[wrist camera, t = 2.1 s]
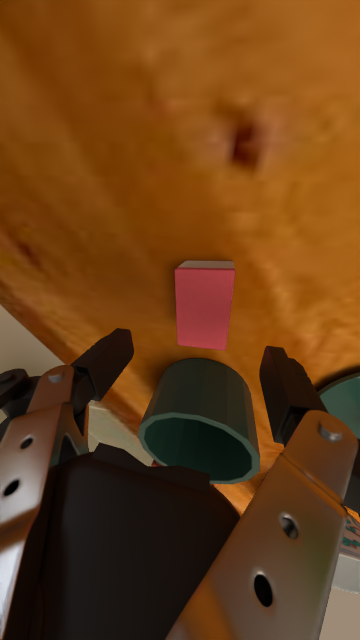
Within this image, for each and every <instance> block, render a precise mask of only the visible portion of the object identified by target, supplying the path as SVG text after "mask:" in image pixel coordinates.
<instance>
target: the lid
mask: <svg viewBox="0 0 360 640" xmlns="http://www.w3.org/2000/svg"><path fill="white" fill-rule="evenodd" d="M317 393H318V395H319V396H320V398H321V400H322V402H323V404H324V405H325V407H326V409H327V411H328V412H329V414H331V415H333V416H335V417H336V418H338V419H339V420H341V421H342V422H343V423H345V424H346V425H347V426H348V427H349V428H350V429H351V431H352V432H353V433H354V435H355V436H356V438H358V439H360V372H358V373H354V374H351V375H348V376H345V377H342V378H340V379H338V380H335V381H334V382H332V383H330V384H328V385H326V386H325V387H324V388H322V389H321V390H320V391H318V392H317Z"/></svg>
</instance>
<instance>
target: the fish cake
mask: <svg viewBox="0 0 360 640" xmlns="http://www.w3.org/2000/svg"><path fill="white" fill-rule="evenodd" d="M234 279H235V267H234V263H233V261H185V262H183V263H182V264H181V265H180V266H178V267H177V268H176V269H175V292H176V317H177V341H178V345H183V346H191V347H199V348H207V349H216V350H224V351H225V350H226V343H227V335H228V327H229V319H230V311H231V303H232V295H233V287H234Z"/></svg>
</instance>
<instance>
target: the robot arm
mask: <svg viewBox="0 0 360 640" xmlns="http://www.w3.org/2000/svg"><path fill="white" fill-rule="evenodd" d="M133 354H134V348H133V342H132V336H131V332H130V330H128V329H120V328H117V329H115V330H114V331H113V332H112V333H111V334H110V335H107V336H105V337H104V338H102V339H100V340H99V341H98V342H96V343H95V345H93V346H92V347H91V348H90V349H88V350H87V351H86V352H85V353H84V354H82V355H81V356H80V357H79V358H78V359H77V360H75V361H74V362H73V363H72V364H71V365H61V366H58V367H55V368H52V369H50V370H49V371H47V372H46V373H44V374H43V375H42V376H33V377H29V376H28V374H27V372H26V371H25V370H24V369H13V370H9V371H6V372H4V373H2V374H0V409H2V411H3V412H4V413H5V415H6V416H7V418H6V419H5V420H4V421H3V422H2V423H1V424H0V640H319V636H320V632H321V628H322V624H323V620H324V616H325V611H326V607H327V603H328V599H329V594H330V591H331V586H332V582H333V578H334V574H335V570H336V566H337V562H338V557H339V553H340V549H341V545H342V541H343V537H344V532H345V528H346V524H347V518H348V512H347V509H346V508H345V507H344V506H343V505H345V506H347V507H348V508H350V509H352V510H353V511H355V512H357V513H358V514H359V517H360V439H358V438H356V436H355V435H354V433H353V432H352V431H351V429H350V428H349V427H348V426H347V425H346V424H345V423H343V422H342V421H341V420H339V419H338V418H336V417H335V416H333V415H331V414H329V412H328V411H327V409H326V407H325V405H324V404H323V402H322V400H321V398H320V396H319V395H318V393H317V391H316V389H315V388H314V386H313V384H311V380H310V379H309V377H307V373H306V372H305V370H304V368H303V366H302V365H300V364H299V363H298V362H297V361H296V360H295V359H292V358H288V356H287V354H286V352H285V350H284V348H282V347H273V346H266V348H265V351H264V355H263V358H262V362H261V366H260V374H259V375H260V382H261V387H262V391H263V395H264V400H265V404H266V409H267V413H268V418H269V422H270V426H271V431H272V435H273V440H274V442H277V443H281V444H284V450H283V451H282V453H280V454H279V456H278V457H277V459H276V461H275V462H274V464H273V465H272V467H271V469H270V470H269V472H268V474H267V475H266V477H265V479H264V480H263V482H262V484H261V485H260V487H259V488H258V490H257V492H256V493H255V495H254V497H253V498H252V500H251V502H250V503H249V505H248V506H247V508H246V510H245V511H244V513H243V515H242V516H241V517H240V515H239V513H238V512H237V510H236V509H235V508H234V506H233V505H232V504H231V503H230V501H229V500H228V499H227V498H226V497H225V496H224V495H223V494H222V493H221V492H219V491H218V490H217V489H216V488H215V487H213V486H212V485H210V474H208V473H204V472H201V471H198V470H194V469H191V468H187V467H184V466H180V465H179V466H153V467H150V466H146V465H144V464H143V463H142V462H140V461H139V460H138V459H136V458H135V457H133V456H132V455H131V454H129V453H128V452H127V451H125V450H124V449H121V448H117V447H114V446H110V445H107V444H103V443H100V442H99V444H98V446H97V447H96V449H95V451H94V452H89V448H88V420H89V405H88V403H89V402H90V400H95V401H99V402H100V401H101V399H102V398H103V397H104V395H105V394H106V393H107V391H108V390H109V389H110V387H111V386H112V385H113V383H114V382H115V381H116V379H117V378H118V377H119V375H120V374H121V372H122V371H123V370H124V368H125V367H126V366H127V364H128V363H129V362H130V360H131V359H132V357H133Z"/></svg>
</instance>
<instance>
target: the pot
mask: <svg viewBox="0 0 360 640" xmlns="http://www.w3.org/2000/svg"><path fill="white" fill-rule="evenodd" d="M138 438H139V440H140V442H141V444H142V446H143V448H144V450H145V451H146V452H147V453H148V454H149V455H150V456H151V457H152V458H153V459H154V460H155V461H156V462H158V463H160V464H161V465H163V466H179V465H180V466H184V467H187V468H191V469H194V470H198V471H201V472H204V473H208V474H210V483H211V484H235V483H239V482H243V481H247V480H250V479H251V478H252V477H253V476H254V475H255V474H256V473H258V472H259V468H260V453H259V447H258V440H257V433H256V426H255V419H254V413H253V406H252V399H251V393H250V391H249V388H248V386H247V384H246V382H245V381H244V379H243V378H242V377H241V376H240V375H239V374H238V373H237V372H235V371H234V370H233V369H231V368H230V367H228V366H226V365H224V364H222V363H219V362H216V361H213V360H208V359H200V358H192V359H185V360H181V361H178V362H176V363H174V364H172V365H171V366H169V367H168V368H167V369H166V371H165V372H164V374H163V375H162V376H161V378H160V380H159V383H158V385H157V387H156V390H155V392H154V394H153V396H152V399H151V401H150V403H149V405H148V408H147V410H146V412H145V415H144V417H143V419H142V421H141V424H140V428H139V434H138Z"/></svg>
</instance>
